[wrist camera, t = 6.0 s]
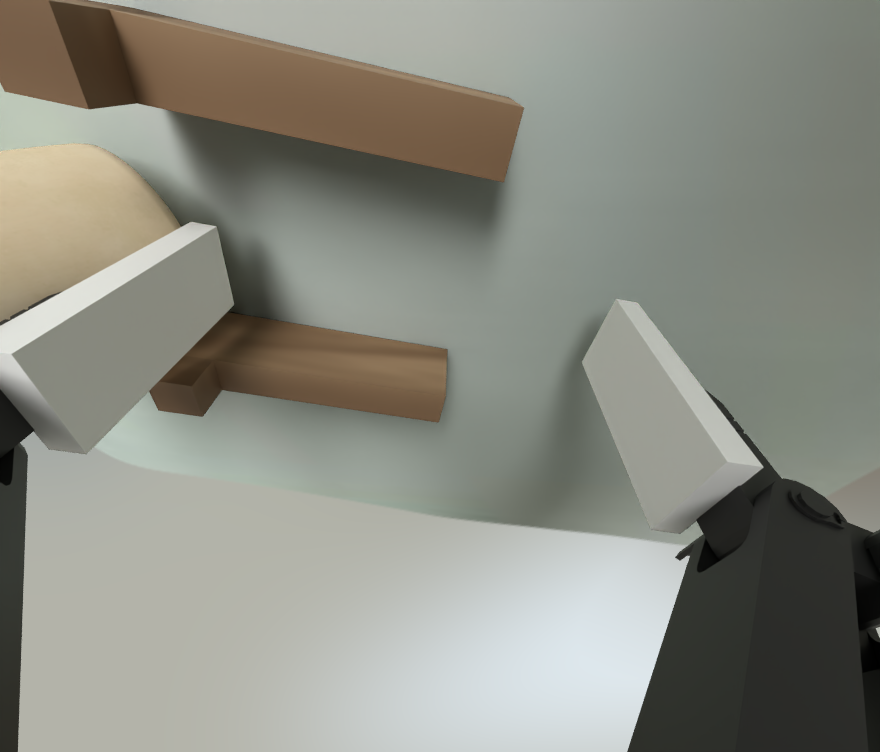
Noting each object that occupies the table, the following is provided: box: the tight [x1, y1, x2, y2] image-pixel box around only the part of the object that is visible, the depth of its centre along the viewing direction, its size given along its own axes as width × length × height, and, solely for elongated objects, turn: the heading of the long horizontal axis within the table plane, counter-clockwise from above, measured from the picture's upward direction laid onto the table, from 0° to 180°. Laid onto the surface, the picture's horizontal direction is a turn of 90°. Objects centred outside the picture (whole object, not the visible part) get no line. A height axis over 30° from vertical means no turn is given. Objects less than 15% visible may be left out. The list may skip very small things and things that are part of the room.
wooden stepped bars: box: [0, 0, 524, 422], centre depth 11 cm, size 10×10×4 cm
